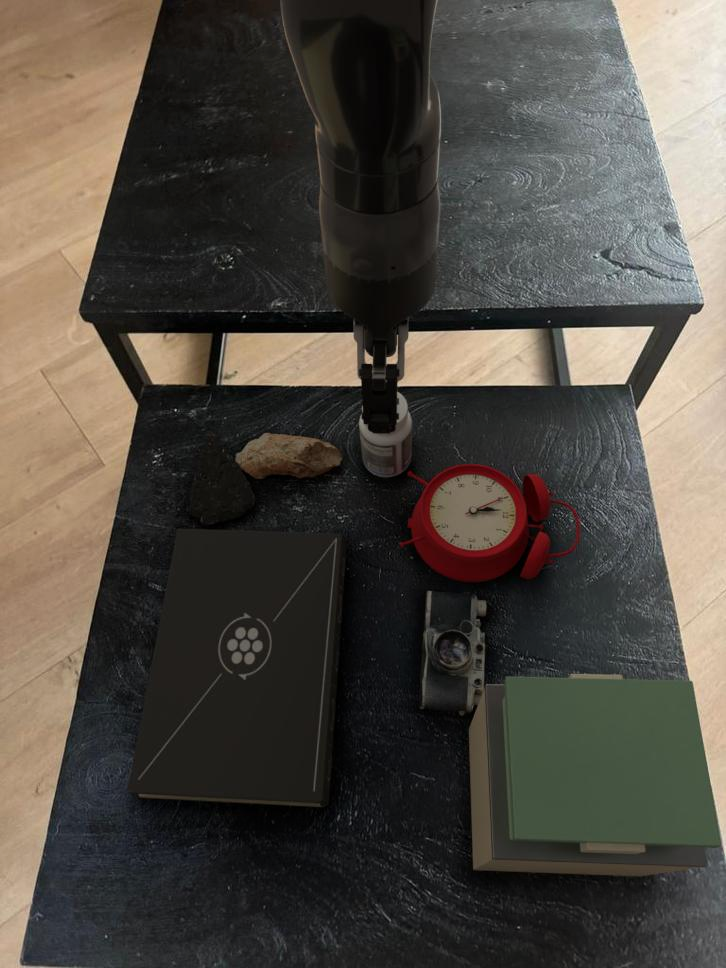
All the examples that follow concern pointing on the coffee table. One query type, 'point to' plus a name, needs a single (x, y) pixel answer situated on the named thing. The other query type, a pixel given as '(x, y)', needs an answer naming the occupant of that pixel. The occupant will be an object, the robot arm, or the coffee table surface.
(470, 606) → the camera
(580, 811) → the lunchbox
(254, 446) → the tan elongated rock
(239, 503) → the arrowhead
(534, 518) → the alarm clock
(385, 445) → the pill bottle
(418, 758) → the coffee table surface
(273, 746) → the book
